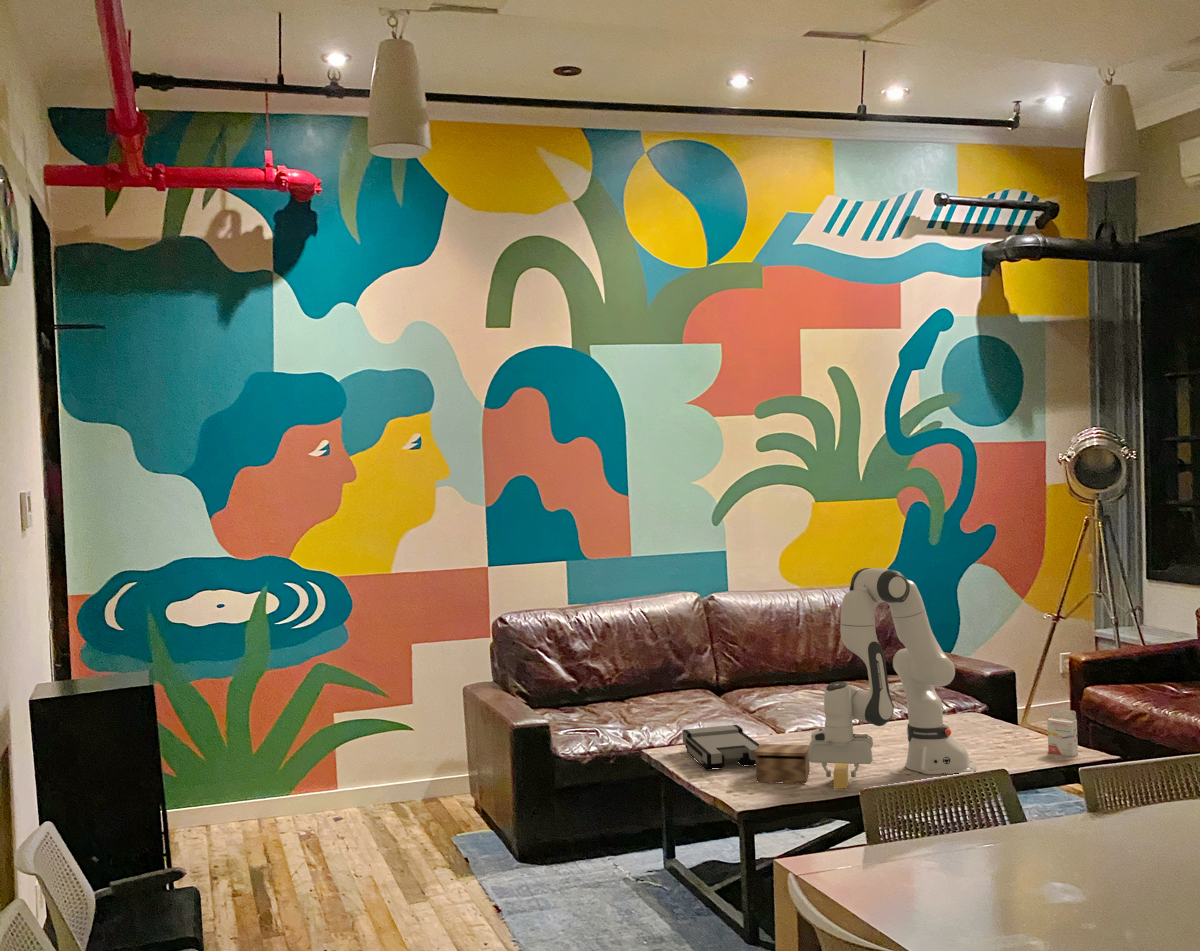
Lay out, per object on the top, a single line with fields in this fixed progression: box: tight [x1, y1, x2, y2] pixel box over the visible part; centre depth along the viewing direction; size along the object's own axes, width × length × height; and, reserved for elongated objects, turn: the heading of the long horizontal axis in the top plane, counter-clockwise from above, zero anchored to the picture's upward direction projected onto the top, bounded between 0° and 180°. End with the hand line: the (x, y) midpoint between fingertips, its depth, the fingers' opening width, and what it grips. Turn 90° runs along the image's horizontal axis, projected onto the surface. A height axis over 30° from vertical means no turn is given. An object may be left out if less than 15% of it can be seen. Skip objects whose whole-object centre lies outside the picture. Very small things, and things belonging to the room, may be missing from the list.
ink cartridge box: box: [1047, 707, 1079, 757], centre depth 379 cm, size 9×5×15 cm, turn 47°
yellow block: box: [832, 763, 849, 790], centre depth 356 cm, size 4×12×5 cm, turn 165°
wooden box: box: [755, 750, 811, 784], centre depth 366 cm, size 16×14×8 cm
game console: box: [681, 724, 761, 770], centre depth 391 cm, size 21×32×8 cm, turn 11°
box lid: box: [754, 743, 810, 756], centre depth 366 cm, size 16×14×1 cm
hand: (841, 776), depth 356 cm, fingers open, 6 cm apart
